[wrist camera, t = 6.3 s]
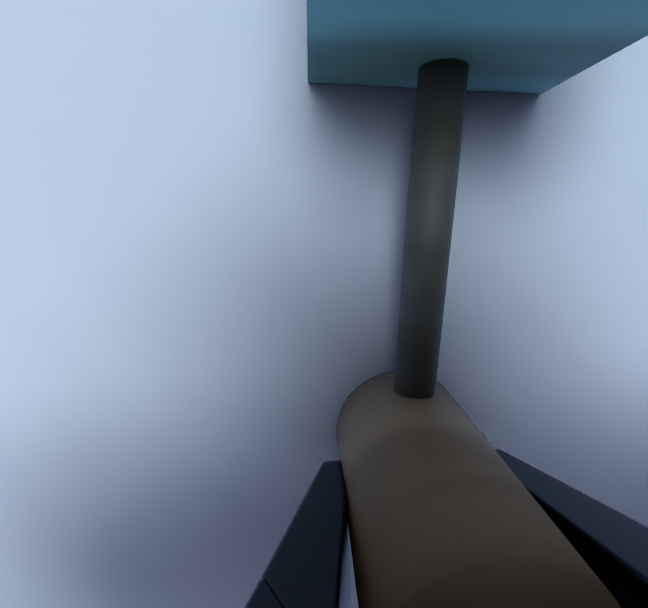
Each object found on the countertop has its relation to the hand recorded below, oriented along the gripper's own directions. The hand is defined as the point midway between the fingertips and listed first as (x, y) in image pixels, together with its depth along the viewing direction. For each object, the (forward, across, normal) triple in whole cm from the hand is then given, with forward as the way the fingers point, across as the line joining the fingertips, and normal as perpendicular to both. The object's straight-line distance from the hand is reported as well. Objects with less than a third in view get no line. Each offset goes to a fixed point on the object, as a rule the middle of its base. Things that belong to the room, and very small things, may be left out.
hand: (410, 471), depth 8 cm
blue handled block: (+1, -1, -6) cm, 6 cm away
